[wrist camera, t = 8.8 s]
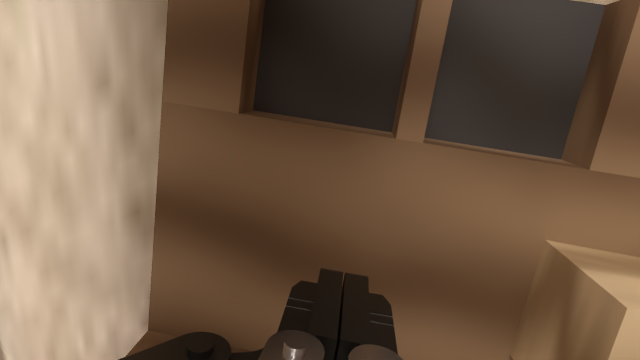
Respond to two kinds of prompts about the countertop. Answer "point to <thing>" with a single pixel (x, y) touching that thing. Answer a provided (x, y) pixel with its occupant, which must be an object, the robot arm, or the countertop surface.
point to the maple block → (581, 306)
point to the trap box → (389, 160)
